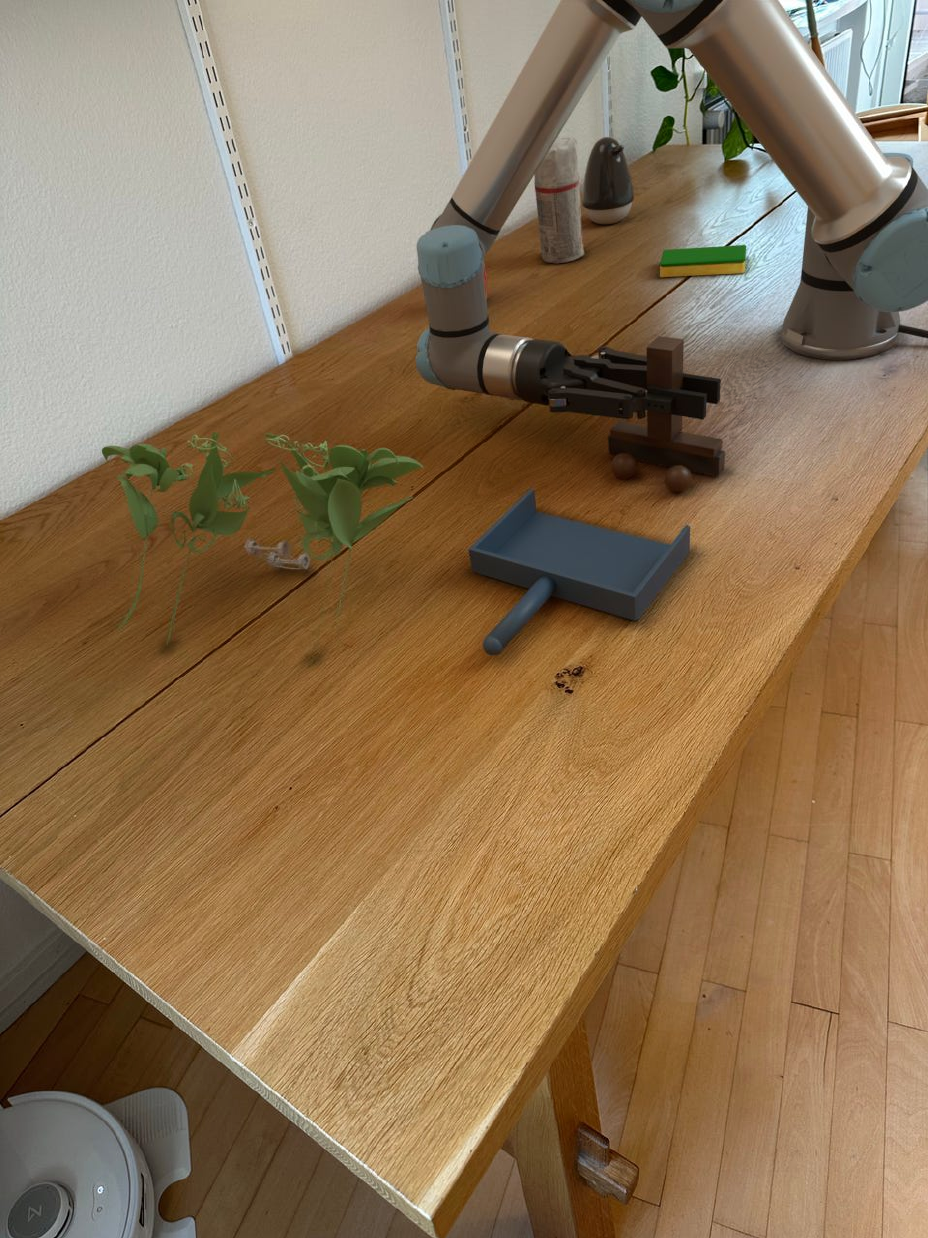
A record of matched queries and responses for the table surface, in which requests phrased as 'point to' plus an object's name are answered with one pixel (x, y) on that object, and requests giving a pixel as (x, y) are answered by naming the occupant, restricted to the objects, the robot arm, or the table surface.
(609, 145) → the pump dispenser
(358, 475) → the plant cuttings
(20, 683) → the table surface
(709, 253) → the dish sponge
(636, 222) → the table surface
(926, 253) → the robot arm
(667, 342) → the wiper
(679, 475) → the crumb
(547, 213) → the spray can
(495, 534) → the dustpan
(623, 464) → the crumb
